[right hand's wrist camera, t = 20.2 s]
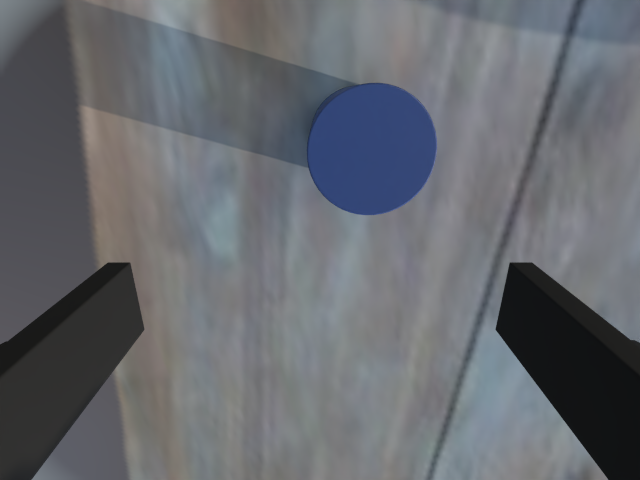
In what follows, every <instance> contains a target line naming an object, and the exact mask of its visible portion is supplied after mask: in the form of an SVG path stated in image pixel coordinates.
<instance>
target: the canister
mask: <svg viewBox="0 0 640 480" xmlns="http://www.w3.org/2000/svg"><path fill="white" fill-rule="evenodd" d="M436 152H437V138H436V132H435V128H434V125H433V122H432V120H431V117H430V115H429V113H428V112H427V110H426V109H425V107H424V106H423V105H422V104H421V103H420V101H419V100H417V99H416V98H415V97H414V96H413V95H412V94H410V93H408V92H407V91H405V90H403V89H401V88H399V87H396V86H393V85H389V84H383V83H367V84H361V85H356V86H350V87H346V88H343V89H340V90H338V91H336V92H335V93H333V94H331V95H330V96H329V97H328V98H327V99H326V100H325V101H324V102H323V103H322V104H321V106H320V107H319V108H318V110H317V112H316V114H315V117H314V119H313V123H312V127H311V130H310V134H309V139H308V145H307V161H308V167H309V170H310V174H311V176H312V179H313V181H314V183H315V185H316V186H317V188H318V190H319V191H320V192H321V193H322V194H323V196H324V197H325V198H326V199H328V200H329V201H330V202H331V203H333V204H334V205H335V206H337V207H339V208H341V209H343V210H345V211H348V212H351V213H355V214H361V215H376V214H383V213H386V212H390V211H392V210H395V209H397V208H399V207H401V206H403V205H404V204H406V203H407V202H408V201H410V200H411V199H412V198H413V197H414V196H416V195H417V194H418V192H419V191H420V190H421V189H422V188H423V186H424V185H425V183H426V182H427V180H428V178H429V176H430V174H431V172H432V169H433V167H434V163H435V159H436Z"/></svg>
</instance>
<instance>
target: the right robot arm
mask: <svg viewBox="0 0 640 480" xmlns="http://www.w3.org/2000/svg"><path fill="white" fill-rule="evenodd" d="M143 331H144V325H143V321H142V316H141V311H140V307H139V302H138V297H137V292H136V288H135V283H134V278H133V274H132V269H131V264H130V263H107V264H106V265H104V266H103V267H102V268H101V269H99V270H98V271H97V272H95V273H94V274H93V275H92V276H90V277H89V278H88V279H87V280H85V281H84V282H83V283H82V284H80V285H79V286H78V287H76V288H75V289H74V290H73V291H71V292H70V293H69V294H68V295H66V296H65V297H64V298H62V299H61V300H60V301H59V302H57V303H56V304H55V305H53V306H52V307H51V308H50V309H48V310H47V311H46V312H45V313H43V314H42V315H41V316H39V317H38V318H37V319H36V320H34V321H33V322H32V323H31V324H29V325H28V326H27V327H26V328H24V329H23V330H22V331H20V332H19V333H18V334H17V335H15V336H14V337H13V338H11V339H10V340H9V341H8V342H4V343H2V344H0V480H31V479H32V478H33V477H34V476H35V474H36V473H37V472H38V470H39V469H40V468H41V466H42V465H43V463H44V462H45V461H46V460H47V458H48V457H49V456H50V454H51V453H52V452H53V450H54V449H55V448H56V446H57V445H58V444H59V442H60V441H61V440H62V438H63V437H64V436H65V434H66V433H67V432H68V430H69V429H70V428H71V426H72V425H73V424H74V422H75V421H76V420H77V418H78V417H79V416H80V414H81V413H82V412H83V410H84V409H85V408H86V406H87V405H88V404H89V402H90V401H91V400H92V398H93V397H94V396H95V394H96V393H97V392H98V391H99V389H100V388H101V386H102V385H103V384H104V383H105V381H106V380H107V379H108V377H109V376H110V375H111V373H112V372H113V371H114V369H115V368H116V367H117V365H118V364H119V363H120V361H121V360H122V359H123V357H124V356H125V355H126V353H127V352H128V351H129V349H130V348H131V347H132V345H133V344H134V343H135V341H136V340H137V339H138V337H139V336H140V335H141V333H142V332H143ZM496 331H497V332H498V333H499V335H500V336H501V337H502V339H503V340H504V341H505V343H506V344H507V345H508V347H509V348H510V349H511V351H512V352H513V353H514V355H515V356H516V357H517V359H518V360H519V361H520V363H521V364H522V365H523V367H524V368H525V369H526V371H527V372H528V373H529V375H530V376H531V377H532V379H533V380H534V381H535V383H536V384H537V385H538V387H539V388H540V389H541V391H542V392H543V393H544V394H545V396H546V397H547V398H548V400H549V401H550V402H551V404H552V405H553V406H554V408H555V409H556V410H557V412H558V413H559V414H560V416H561V417H562V418H563V420H564V421H565V422H566V424H567V425H568V426H569V428H570V429H571V430H572V432H573V433H574V434H575V436H576V437H577V438H578V440H579V441H580V442H581V444H582V445H583V446H584V448H585V449H586V450H587V452H588V453H589V454H590V456H591V457H592V458H593V460H594V461H595V462H596V464H597V465H598V466H599V468H600V469H601V470H602V472H603V473H604V474H605V476H606V477H607V478H608V480H640V343H639V342H637V341H635V340H630V339H629V338H627V337H626V336H625V335H623V334H622V333H621V332H620V331H618V330H617V329H616V328H615V327H613V326H612V325H611V324H609V323H608V322H607V321H606V320H604V319H603V318H602V317H601V316H599V315H598V314H597V313H595V312H594V311H593V310H592V309H590V308H589V307H588V306H587V305H585V304H584V303H583V302H581V301H580V300H579V299H578V298H576V297H575V296H574V295H573V294H571V293H570V292H569V291H567V290H566V289H565V288H564V287H562V286H561V285H560V284H559V283H557V282H556V281H555V280H553V279H552V278H551V277H550V276H548V275H547V274H546V273H545V272H543V271H542V270H541V269H539V268H538V267H537V266H536V265H534V264H533V263H510V264H509V269H508V274H507V278H506V283H505V288H504V292H503V297H502V302H501V307H500V311H499V316H498V321H497V325H496Z"/></svg>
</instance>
